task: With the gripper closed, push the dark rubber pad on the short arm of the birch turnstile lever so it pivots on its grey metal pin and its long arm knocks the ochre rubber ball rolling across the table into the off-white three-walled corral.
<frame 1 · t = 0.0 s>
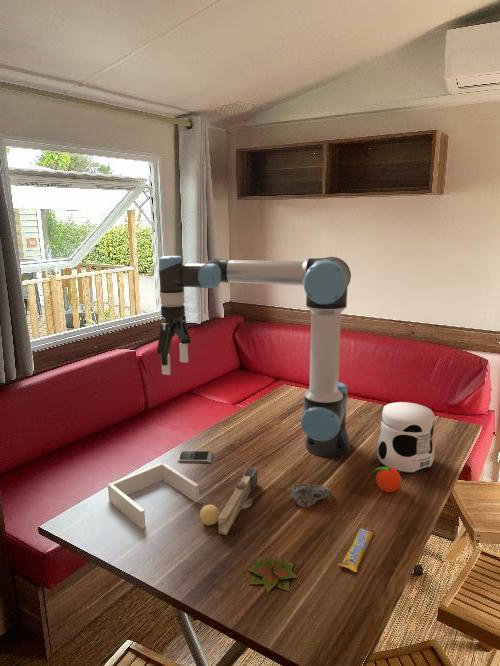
hand: (175, 367, 162), 28 cm above the table, fingers open, 13 cm apart
ball: (209, 523, 126), on the table
lever: (238, 496, 132), point 3 cm above the table, hinge at 0.0°
lily flower: (272, 576, 109), on the table
clementine: (385, 490, 141), on the table
fossilized seashell: (310, 500, 137), on the table
pivot disc: (241, 502, 135), on the table
corral: (154, 501, 136), on the table
candy bar: (357, 552, 116), on the table
cell phone: (196, 460, 160), on the table
milk container: (404, 464, 156), on the table
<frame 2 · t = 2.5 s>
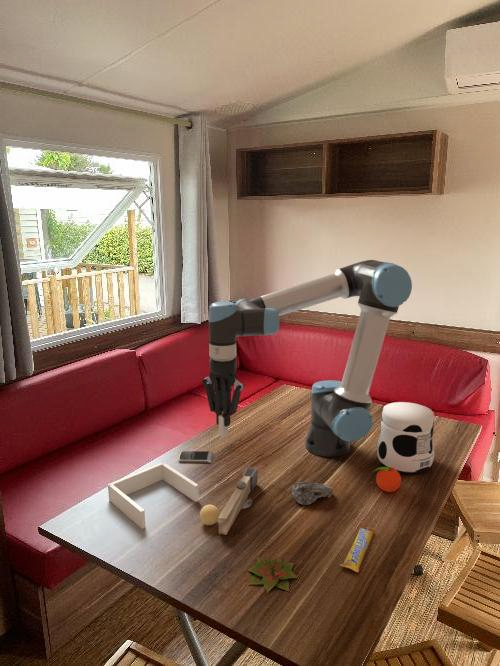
hand: (223, 435, 142), 15 cm above the table, fingers closed
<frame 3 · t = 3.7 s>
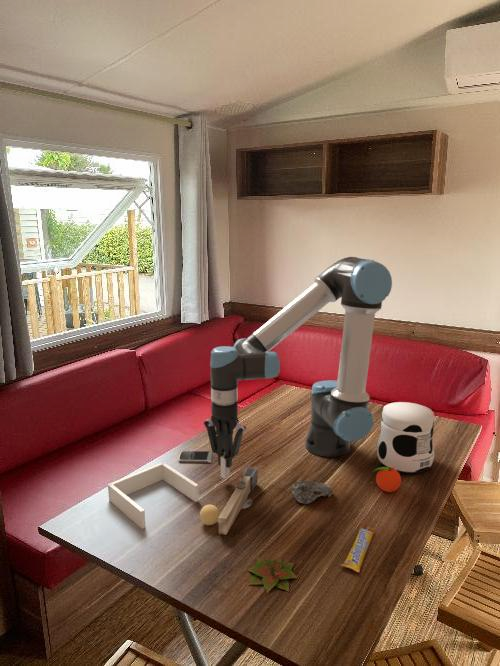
hand: (225, 475, 145), 2 cm above the table, fingers closed
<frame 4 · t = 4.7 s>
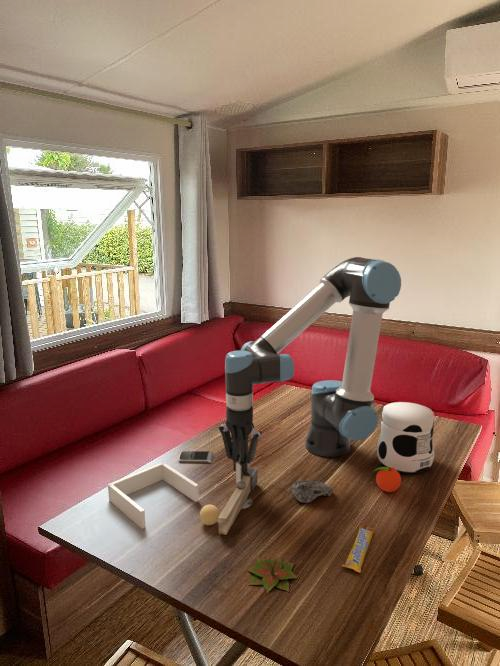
hand: (240, 481, 143), 2 cm above the table, fingers closed
lever: (238, 496, 132), point 3 cm above the table, hinge at 0.0°, touching gripper
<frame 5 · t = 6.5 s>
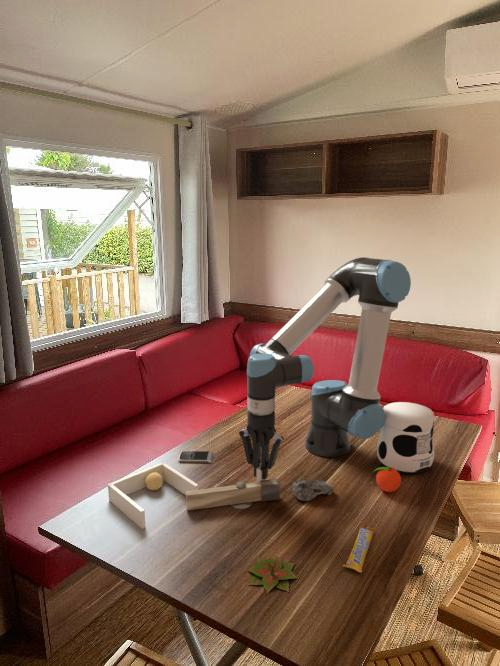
hand: (260, 487, 139), 2 cm above the table, fingers closed
ball: (155, 472, 142), point 5 cm above the table, tilted 163°
lever: (233, 493, 134), point 3 cm above the table, hinge at -60.3°, touching gripper
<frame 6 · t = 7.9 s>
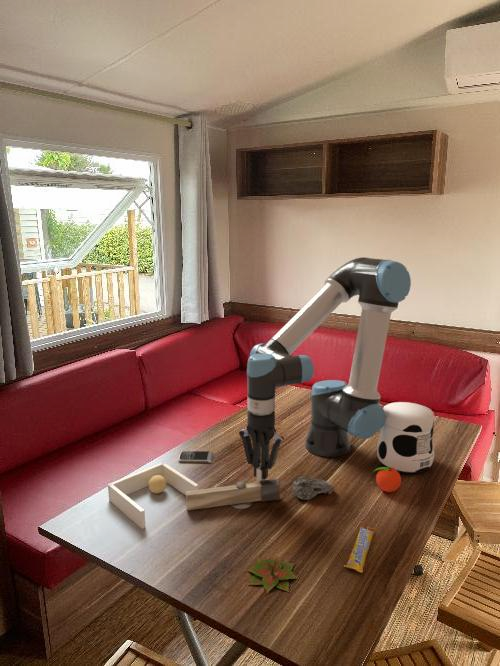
hand: (260, 487, 139), 2 cm above the table, fingers closed
ball: (161, 479, 139), point 4 cm above the table, tilted 138°
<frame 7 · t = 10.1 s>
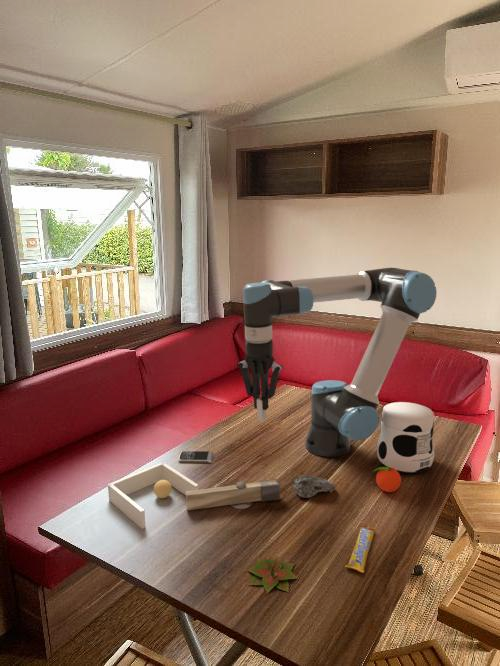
hand: (261, 419, 140), 20 cm above the table, fingers closed
ball: (168, 494, 137), point 2 cm above the table, tilted 69°
lever: (233, 493, 134), point 3 cm above the table, hinge at -60.4°
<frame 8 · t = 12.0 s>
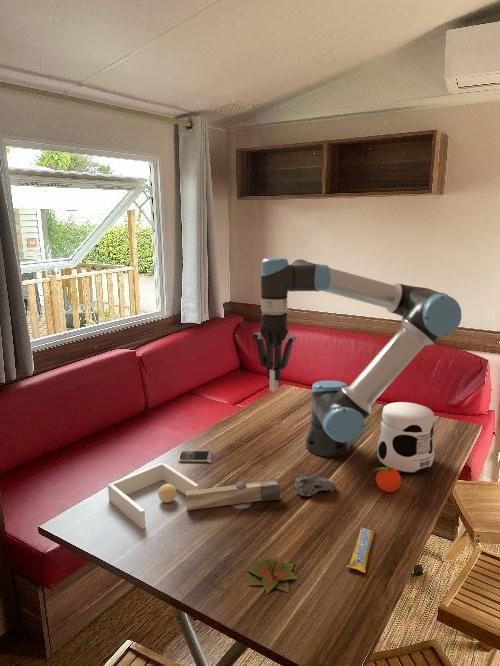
hand: (273, 389, 146), 26 cm above the table, fingers closed
ball: (170, 500, 136), on the table, tilted 17°
at the end: ball 4.5 cm from the corral (horizontally); ball on the table; lever at -60° (first picture: +0°) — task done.
